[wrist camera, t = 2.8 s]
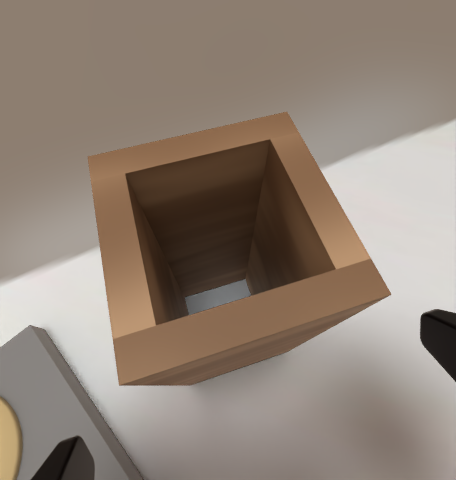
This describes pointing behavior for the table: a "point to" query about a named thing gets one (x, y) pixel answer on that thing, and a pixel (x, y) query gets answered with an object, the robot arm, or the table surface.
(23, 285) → the table surface
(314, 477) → the table surface
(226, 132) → the wooden pencil cup
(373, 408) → the table surface
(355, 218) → the table surface
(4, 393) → the post stand
